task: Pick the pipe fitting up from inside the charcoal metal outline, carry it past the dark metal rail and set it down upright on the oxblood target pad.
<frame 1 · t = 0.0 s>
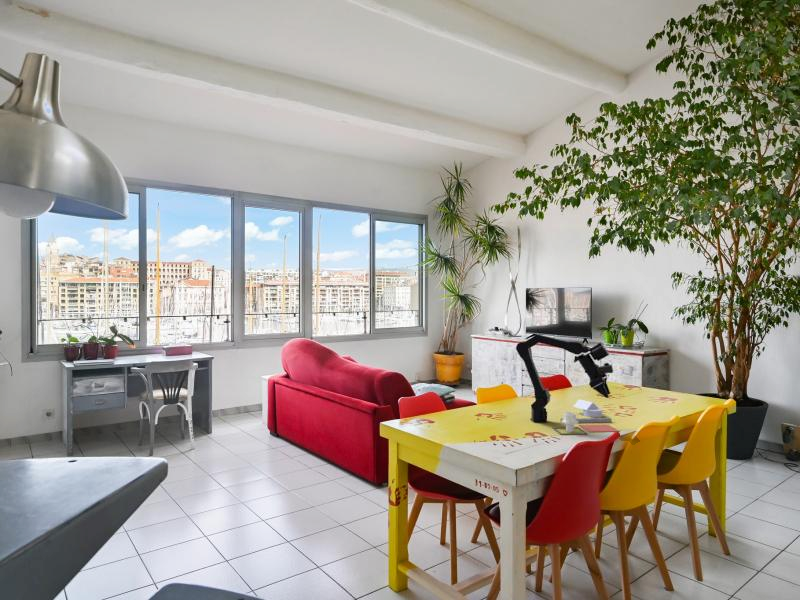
hand: (608, 395, 239), 15 cm above the table, tool tilted 35°, fingers open, 9 cm apart
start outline: (569, 431, 234), on the table
wedge on round base: (589, 415, 266), on the table
target pad: (598, 428, 239), on the table
rail: (586, 422, 251), on the table
pipe fitting: (569, 431, 234), on the table
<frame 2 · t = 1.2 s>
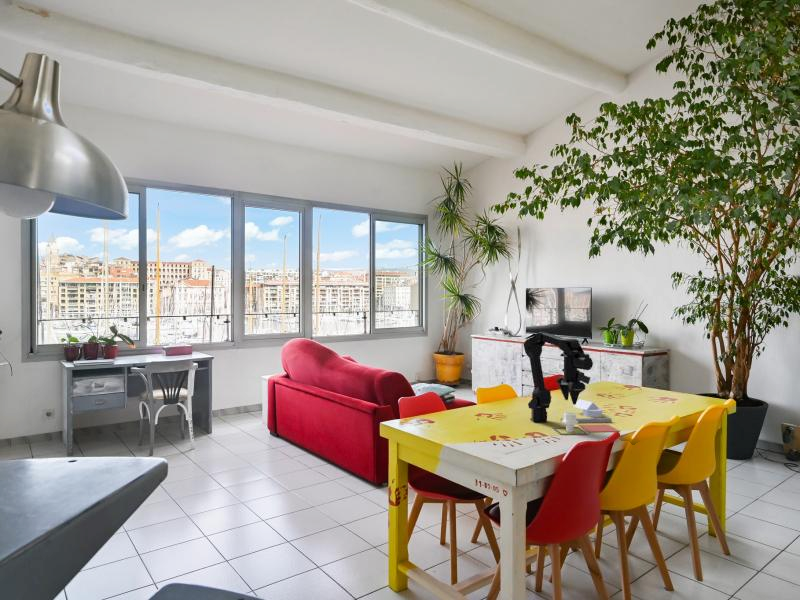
hand: (570, 402, 234), 13 cm above the table, tool pointing down, fingers open, 9 cm apart
nothing on the table moved.
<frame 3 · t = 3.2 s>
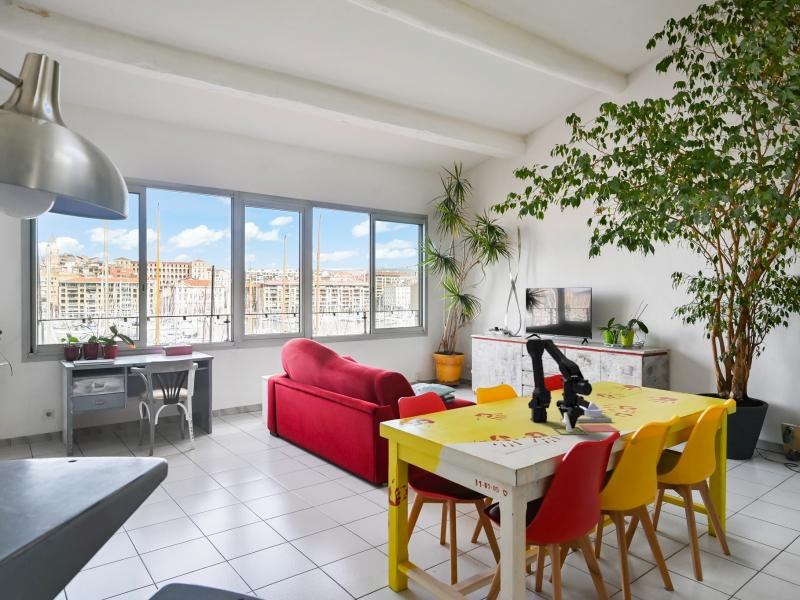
hand: (569, 426, 234), 2 cm above the table, tool pointing down, fingers closed on pipe fitting, 7 cm apart
pipe fitting: (569, 431, 234), on the table, touching gripper
everything else where it was.
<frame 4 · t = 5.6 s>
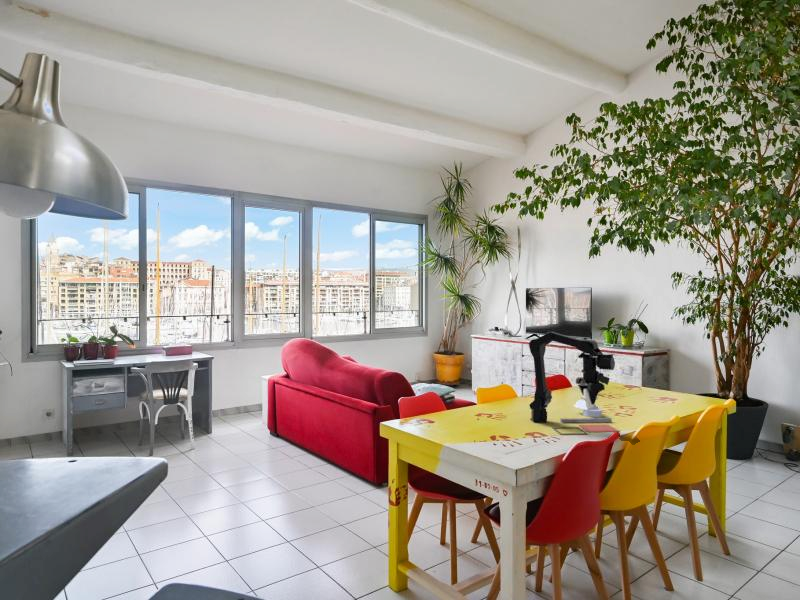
hand: (589, 402, 237), 12 cm above the table, tool pointing down, fingers closed on pipe fitting, 7 cm apart
pipe fitting: (589, 407, 237), point 10 cm above the table, touching gripper
everything else where it was.
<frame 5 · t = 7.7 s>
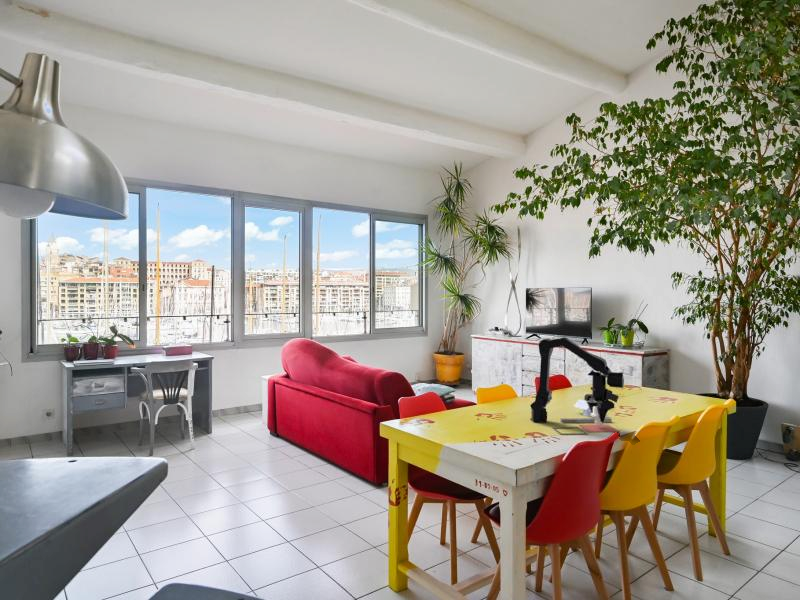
hand: (598, 419, 239), 4 cm above the table, tool pointing down, fingers closed on pipe fitting, 7 cm apart
pipe fitting: (598, 425, 239), point 2 cm above the table, touching gripper
everything else where it was.
when the fingers open (4 cm above the table, at t = 8.4 s): pipe fitting drops 1 cm, resting on target pad.
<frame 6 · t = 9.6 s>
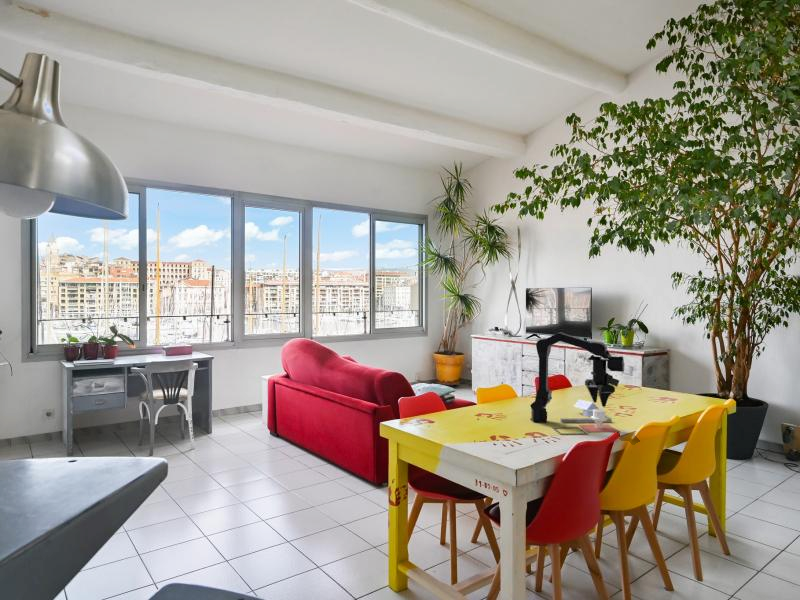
hand: (599, 404, 239), 11 cm above the table, tool pointing down, fingers open, 9 cm apart
pipe fitting: (598, 428, 239), resting on target pad
everything else where it was.
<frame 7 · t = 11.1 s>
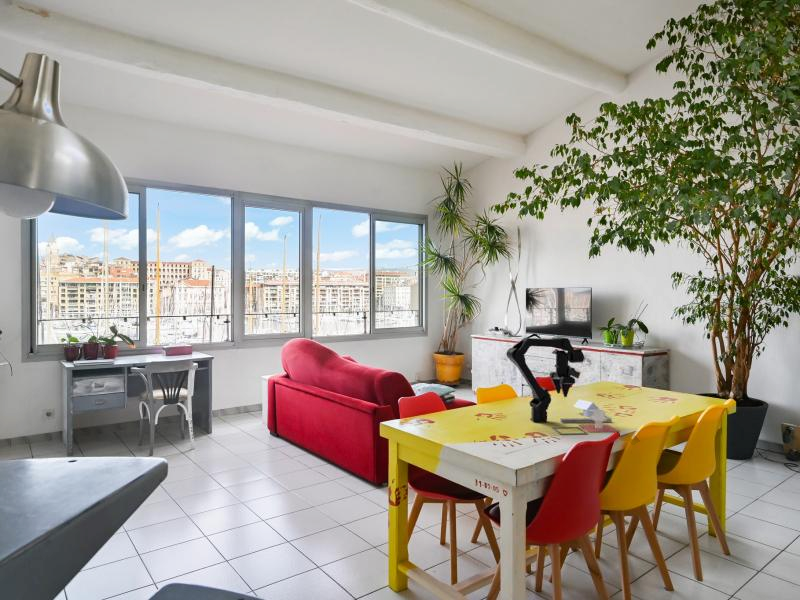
hand: (561, 395, 255), 12 cm above the table, tool pointing down, fingers open, 9 cm apart
nothing on the table moved.
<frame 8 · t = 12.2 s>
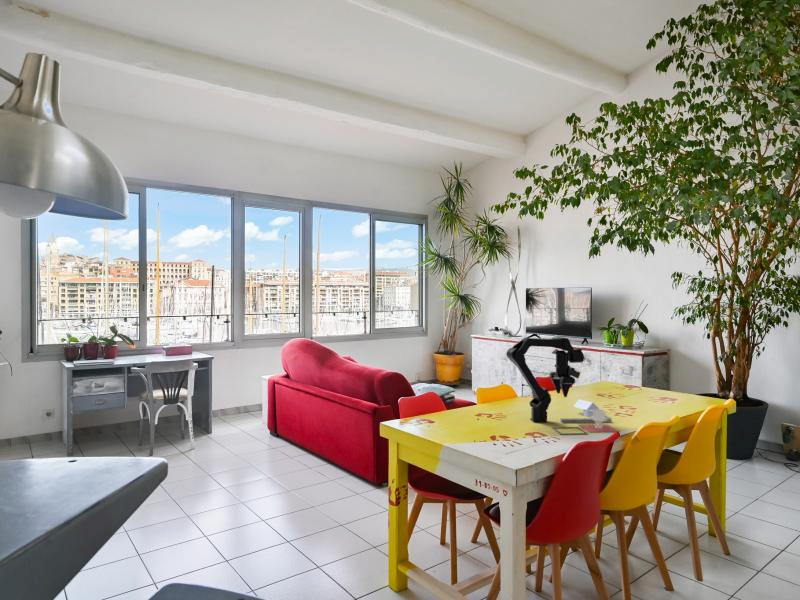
hand: (561, 395, 255), 12 cm above the table, tool pointing down, fingers open, 9 cm apart
nothing on the table moved.
at the end: pipe fitting inside the target area on the target pad (0.1 cm from its centre), point 0.1 cm above the target pad's base; the gripper is holding nothing; pipe fitting moved 15.5 cm from its start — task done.
